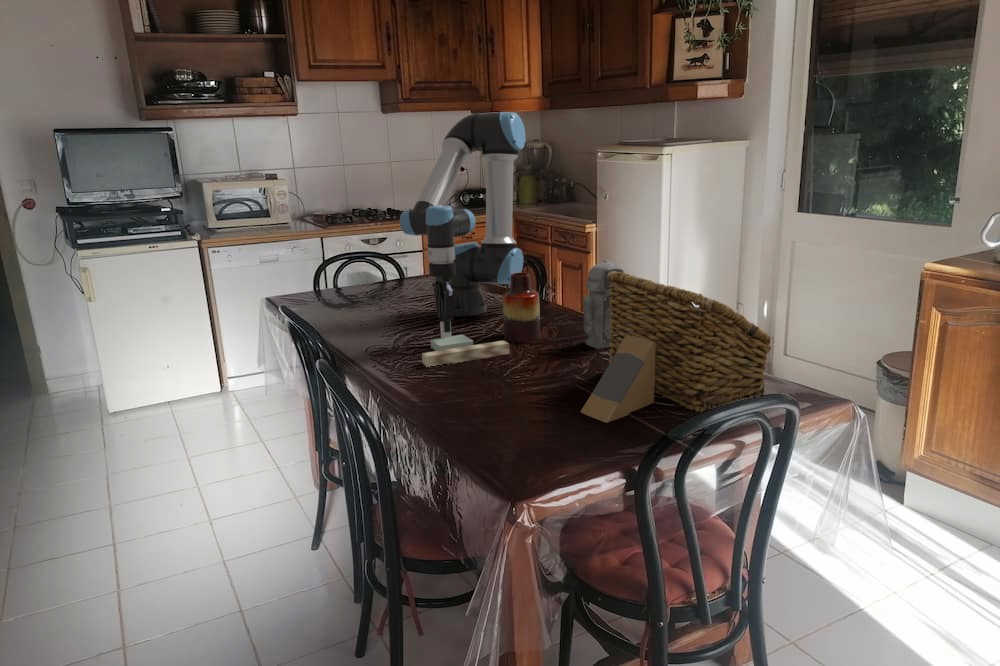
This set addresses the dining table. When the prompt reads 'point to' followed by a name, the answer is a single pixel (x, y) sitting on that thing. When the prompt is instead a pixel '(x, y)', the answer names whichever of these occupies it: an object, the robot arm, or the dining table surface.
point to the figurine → (598, 305)
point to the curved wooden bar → (465, 353)
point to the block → (450, 342)
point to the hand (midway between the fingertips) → (446, 342)
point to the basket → (690, 342)
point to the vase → (521, 310)
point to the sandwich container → (624, 381)
